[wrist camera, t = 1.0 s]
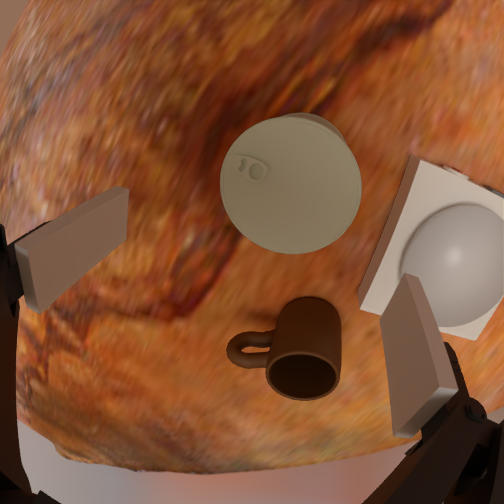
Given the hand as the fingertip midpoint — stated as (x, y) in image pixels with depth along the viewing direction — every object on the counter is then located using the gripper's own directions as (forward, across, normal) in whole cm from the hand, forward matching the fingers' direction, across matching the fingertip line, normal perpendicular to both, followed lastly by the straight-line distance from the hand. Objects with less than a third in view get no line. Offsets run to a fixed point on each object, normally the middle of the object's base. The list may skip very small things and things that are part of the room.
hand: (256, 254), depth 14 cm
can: (+19, 0, +1) cm, 19 cm away
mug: (+19, +5, -17) cm, 26 cm away
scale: (+19, +18, -3) cm, 26 cm away
